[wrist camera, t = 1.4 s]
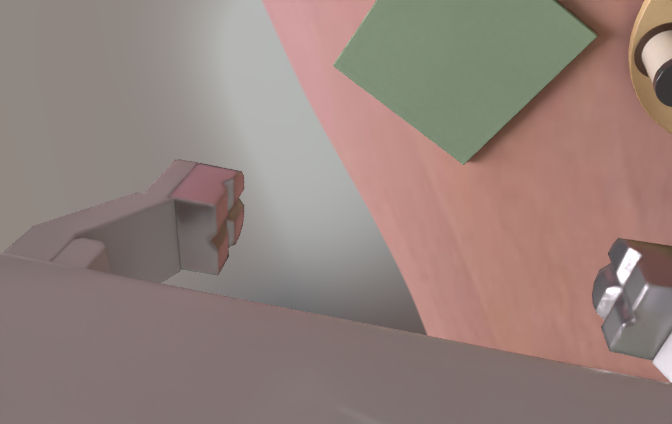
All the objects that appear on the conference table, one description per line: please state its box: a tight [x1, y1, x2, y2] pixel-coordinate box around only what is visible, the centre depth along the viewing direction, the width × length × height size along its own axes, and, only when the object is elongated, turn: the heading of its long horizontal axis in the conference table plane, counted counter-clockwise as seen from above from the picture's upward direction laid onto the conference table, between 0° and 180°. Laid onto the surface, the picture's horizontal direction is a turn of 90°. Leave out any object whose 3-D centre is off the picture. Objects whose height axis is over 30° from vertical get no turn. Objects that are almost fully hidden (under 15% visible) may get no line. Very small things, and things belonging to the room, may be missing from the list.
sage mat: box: [333, 0, 597, 165], centre depth 43 cm, size 15×15×1 cm
